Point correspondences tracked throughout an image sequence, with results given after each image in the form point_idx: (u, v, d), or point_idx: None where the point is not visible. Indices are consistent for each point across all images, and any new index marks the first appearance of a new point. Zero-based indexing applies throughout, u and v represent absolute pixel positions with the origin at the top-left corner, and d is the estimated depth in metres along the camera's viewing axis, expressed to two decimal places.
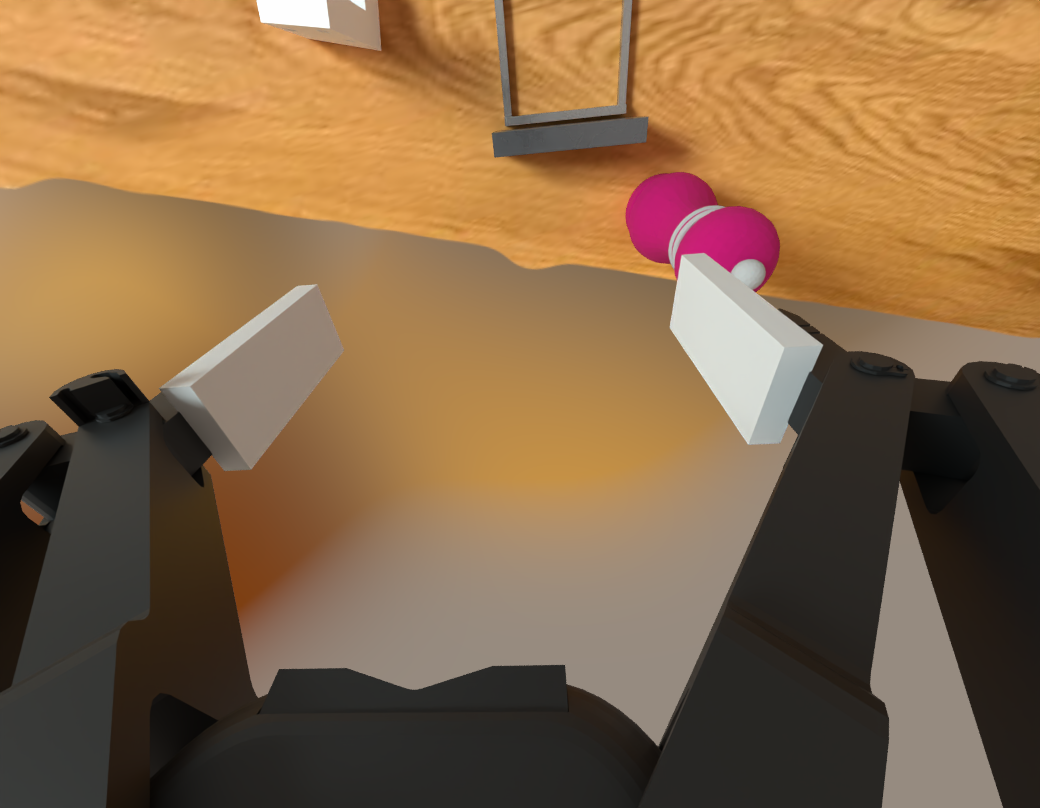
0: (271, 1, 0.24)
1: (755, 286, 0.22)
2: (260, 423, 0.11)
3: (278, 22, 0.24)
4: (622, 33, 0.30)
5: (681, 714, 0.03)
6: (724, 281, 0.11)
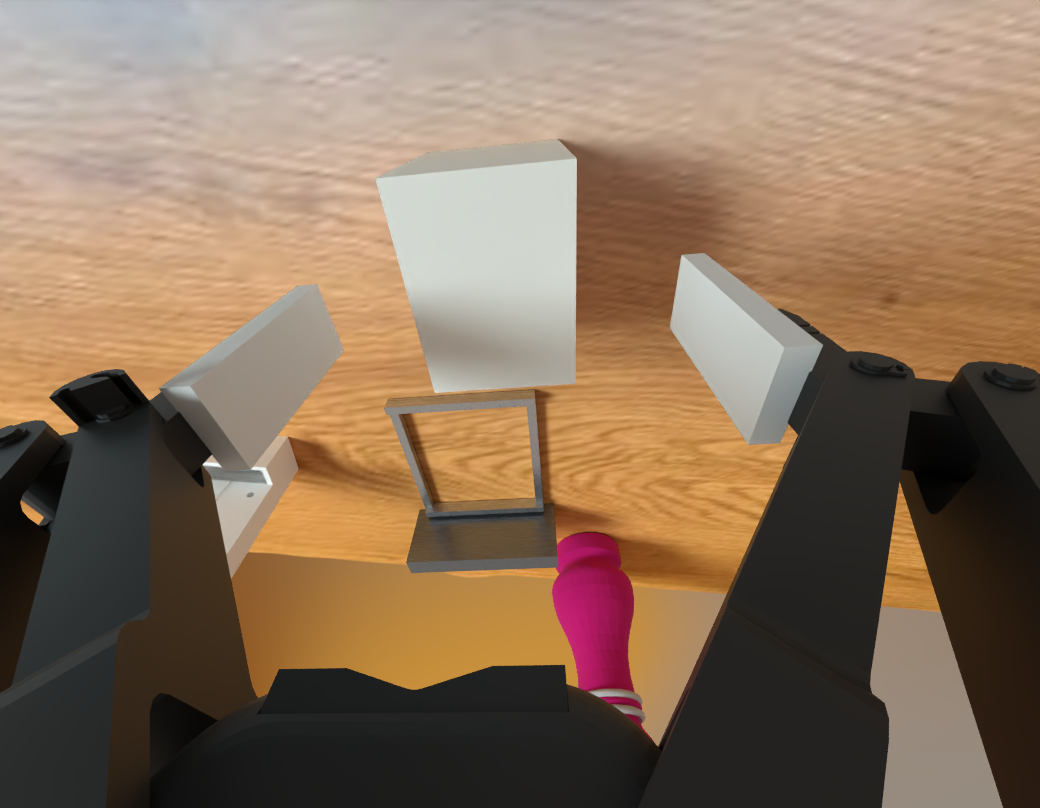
0: None
1: None
2: (260, 423, 0.11)
3: None
4: (533, 467, 0.30)
5: (681, 714, 0.03)
6: (724, 281, 0.11)
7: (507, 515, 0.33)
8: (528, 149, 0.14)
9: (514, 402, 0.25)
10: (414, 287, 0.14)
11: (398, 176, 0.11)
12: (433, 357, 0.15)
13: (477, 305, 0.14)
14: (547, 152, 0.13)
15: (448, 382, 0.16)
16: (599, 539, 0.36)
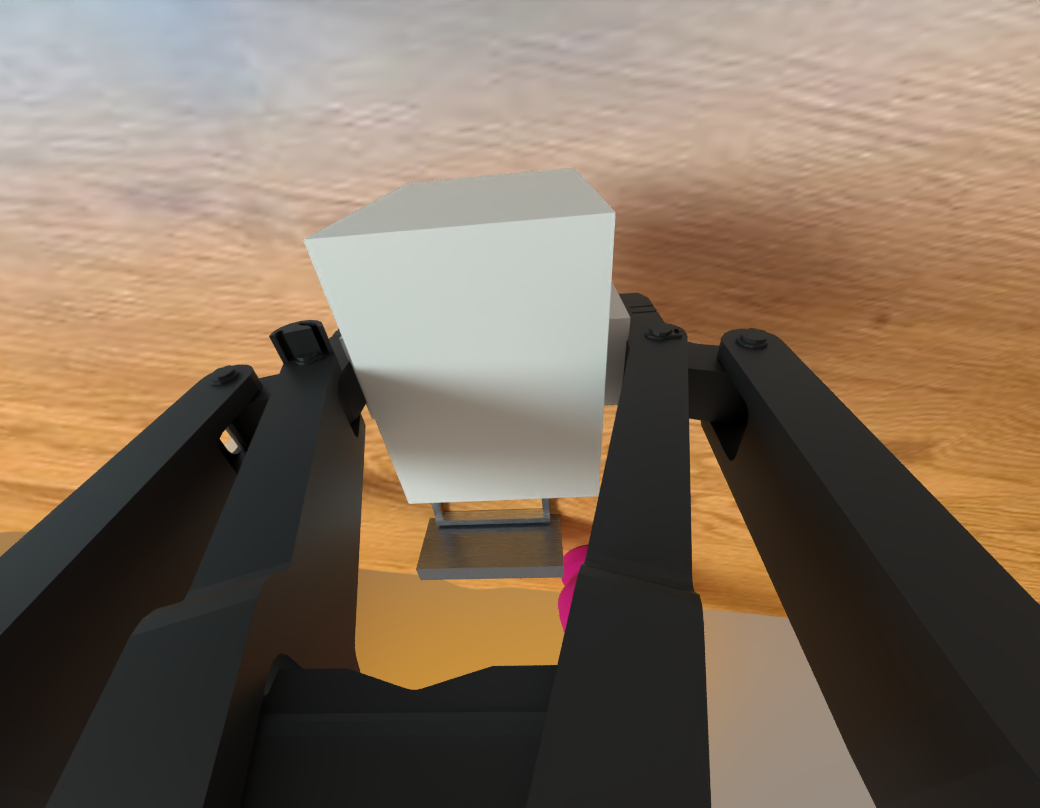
0: None
1: None
2: None
3: None
4: None
5: (555, 675, 0.03)
6: None
7: (515, 525, 0.34)
8: (537, 186, 0.11)
9: None
10: (373, 383, 0.09)
11: (338, 236, 0.07)
12: (405, 464, 0.11)
13: (463, 405, 0.10)
14: (565, 194, 0.09)
15: (426, 492, 0.12)
16: None
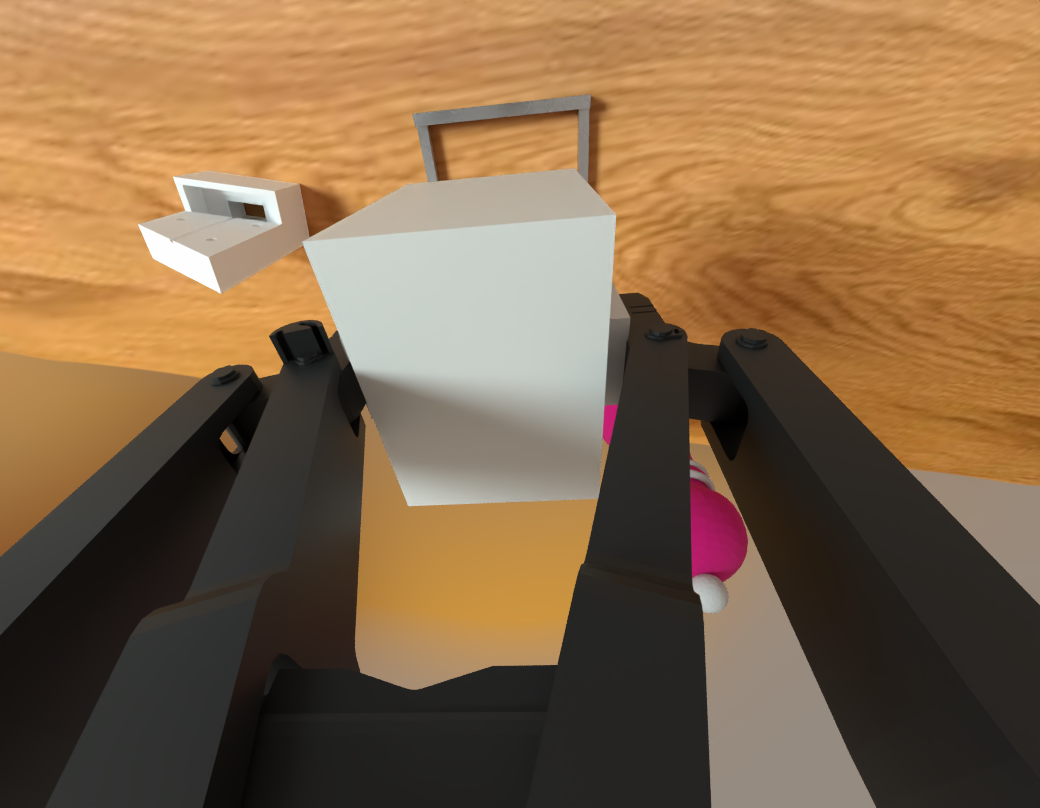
0: (159, 247, 0.21)
1: None
2: None
3: (170, 266, 0.21)
4: None
5: (556, 676, 0.03)
6: None
7: None
8: (537, 187, 0.10)
9: (565, 101, 0.22)
10: (372, 385, 0.09)
11: (337, 238, 0.07)
12: (404, 467, 0.11)
13: (462, 408, 0.10)
14: (565, 195, 0.09)
15: (426, 495, 0.12)
16: None
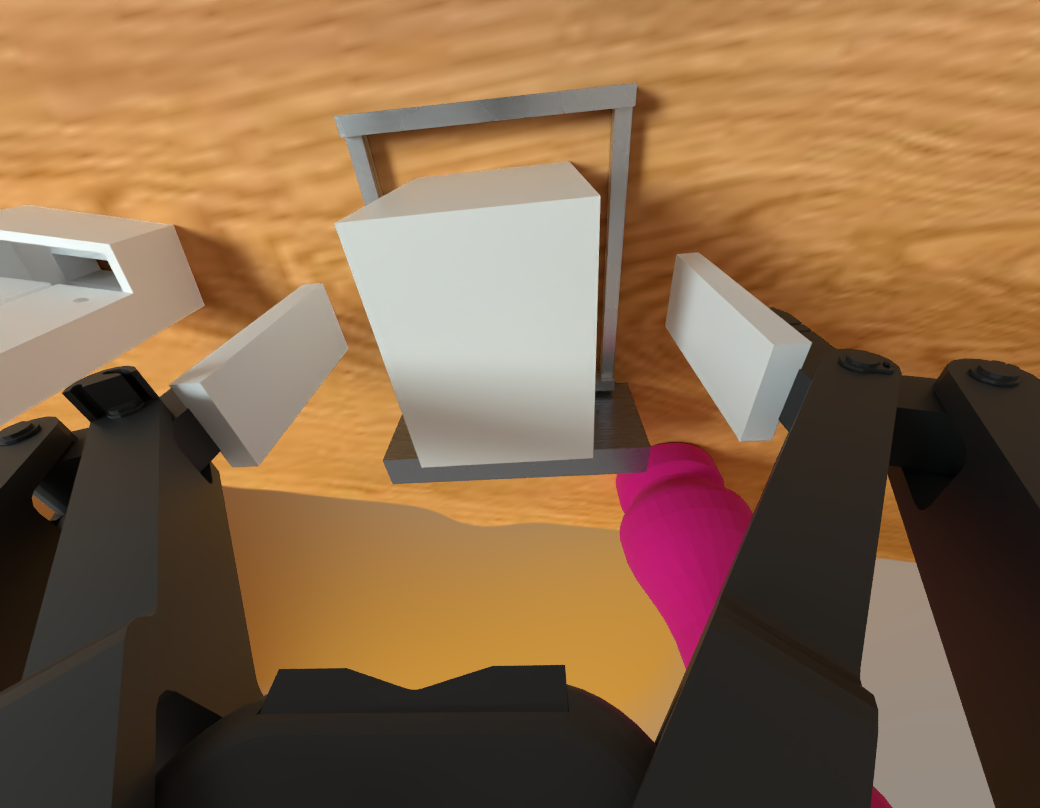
0: None
1: None
2: (267, 420, 0.11)
3: None
4: (606, 293, 0.17)
5: (674, 710, 0.03)
6: (717, 280, 0.11)
7: None
8: (534, 177, 0.12)
9: (593, 94, 0.13)
10: (391, 352, 0.11)
11: (364, 220, 0.09)
12: (418, 429, 0.12)
13: (470, 372, 0.11)
14: (559, 183, 0.10)
15: (437, 456, 0.13)
16: (693, 451, 0.23)
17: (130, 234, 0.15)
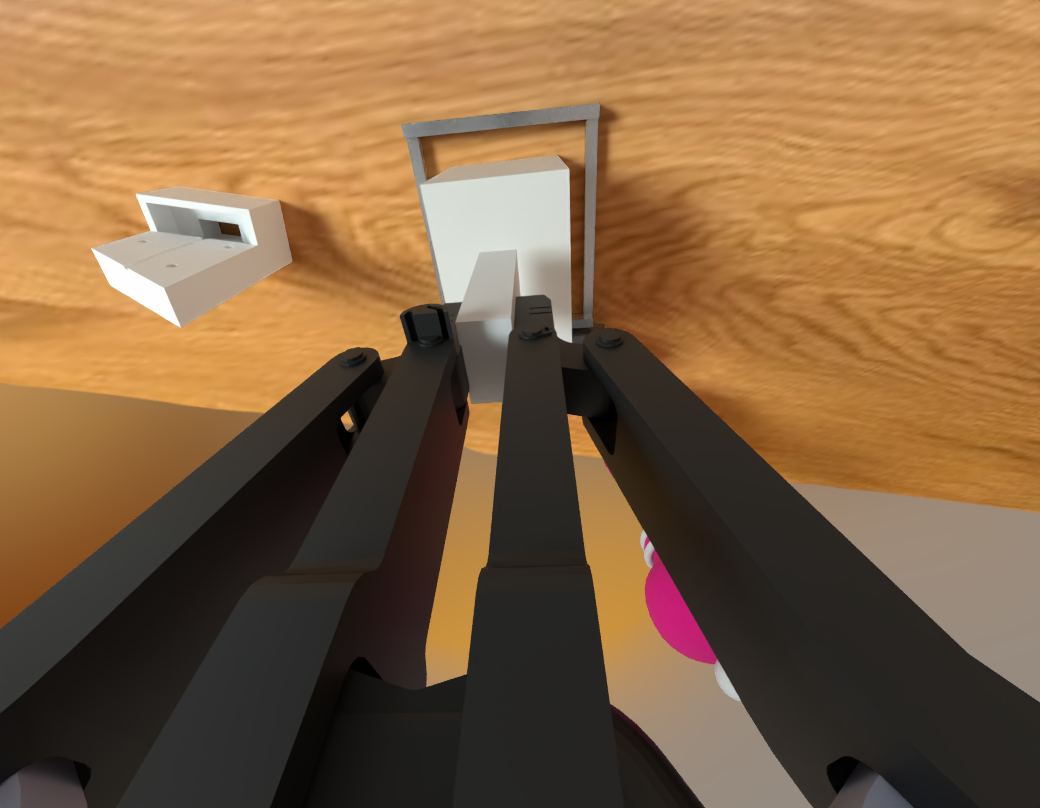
0: (114, 273, 0.18)
1: None
2: None
3: (127, 294, 0.19)
4: (585, 250, 0.24)
5: (466, 685, 0.03)
6: (502, 272, 0.13)
7: None
8: (533, 163, 0.18)
9: (571, 110, 0.19)
10: (445, 269, 0.17)
11: (436, 183, 0.15)
12: None
13: None
14: (548, 165, 0.17)
15: None
16: None
17: (256, 204, 0.21)
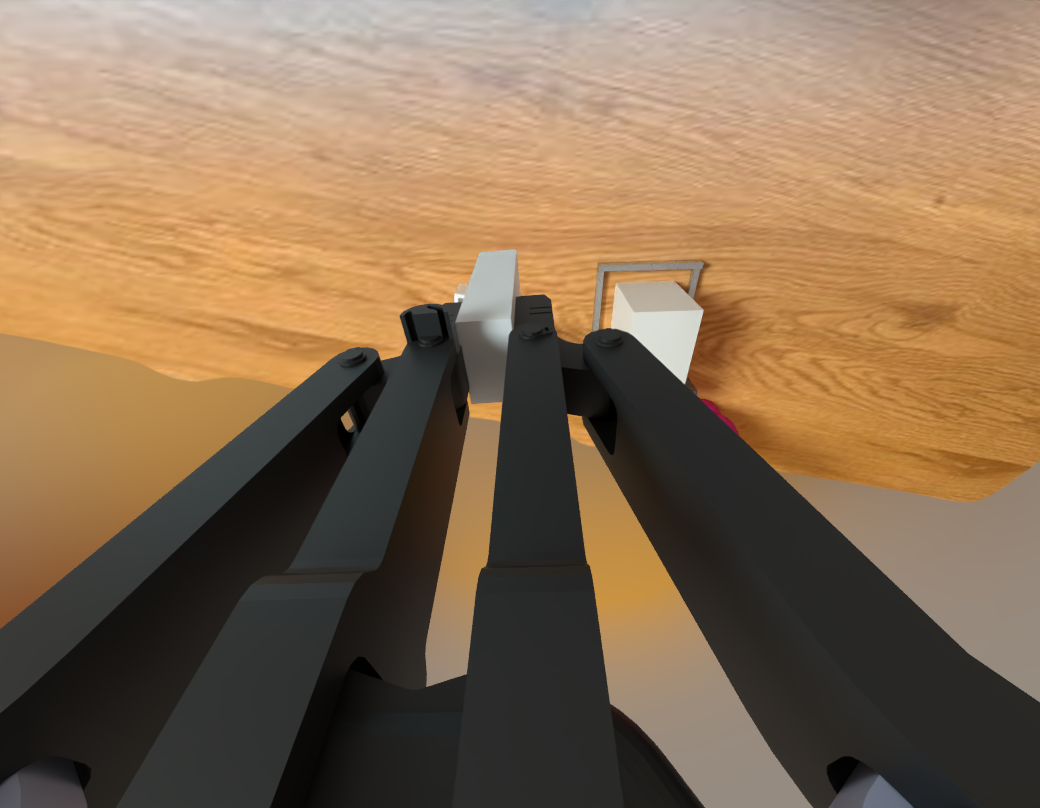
0: None
1: None
2: None
3: None
4: None
5: (467, 685, 0.03)
6: (502, 272, 0.13)
7: None
8: (672, 293, 0.37)
9: (689, 264, 0.38)
10: None
11: (641, 312, 0.33)
12: None
13: (653, 354, 0.36)
14: (685, 300, 0.35)
15: None
16: (708, 403, 0.48)
17: None
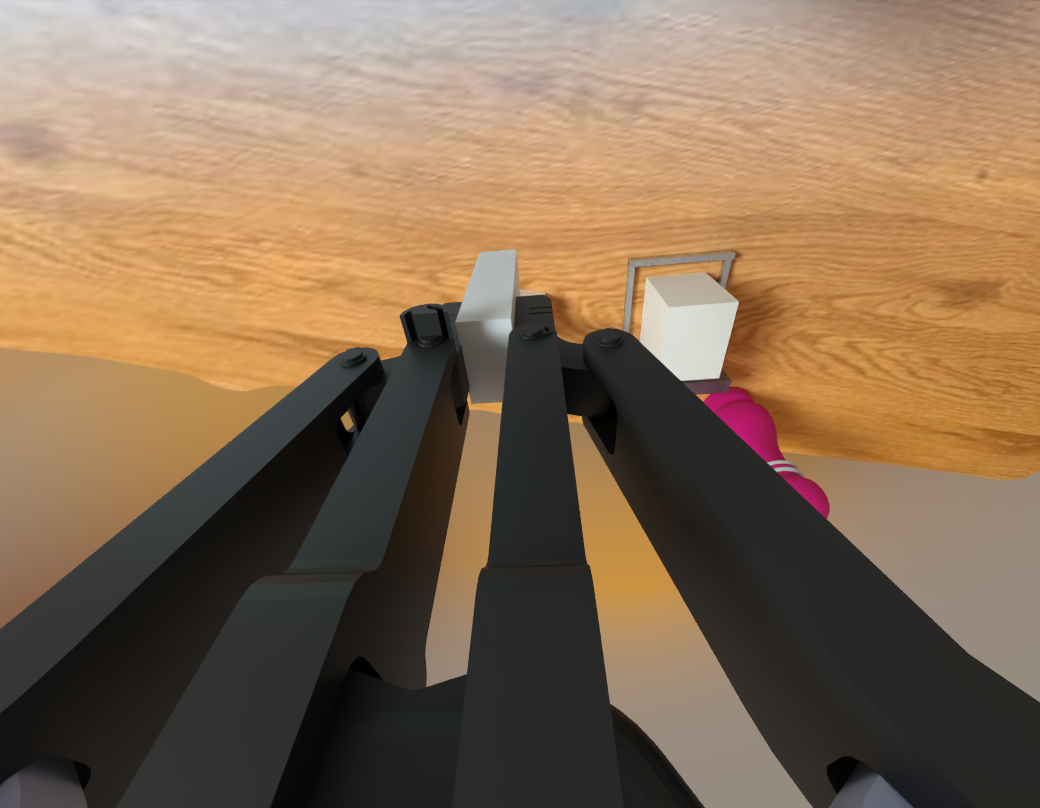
0: None
1: None
2: None
3: None
4: None
5: (466, 684, 0.03)
6: (502, 272, 0.13)
7: None
8: (705, 285, 0.37)
9: (720, 255, 0.38)
10: (667, 341, 0.36)
11: (676, 306, 0.34)
12: None
13: (688, 347, 0.36)
14: (719, 291, 0.35)
15: None
16: (741, 390, 0.48)
17: None
